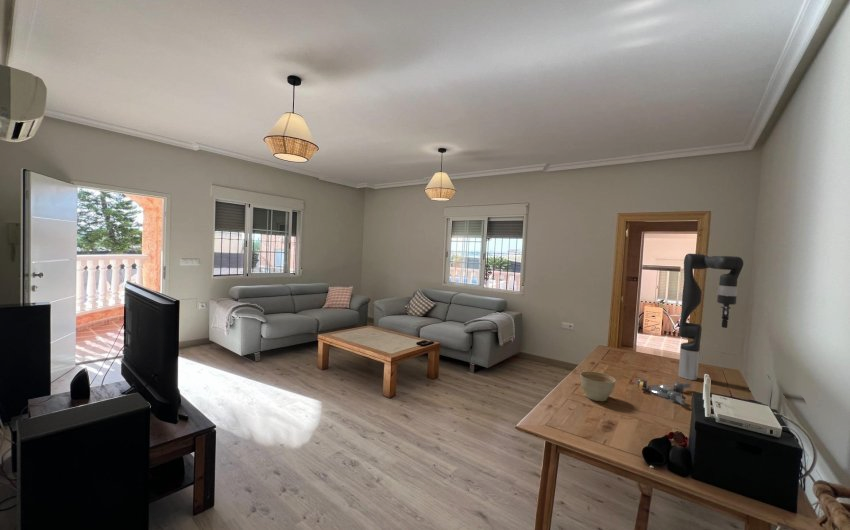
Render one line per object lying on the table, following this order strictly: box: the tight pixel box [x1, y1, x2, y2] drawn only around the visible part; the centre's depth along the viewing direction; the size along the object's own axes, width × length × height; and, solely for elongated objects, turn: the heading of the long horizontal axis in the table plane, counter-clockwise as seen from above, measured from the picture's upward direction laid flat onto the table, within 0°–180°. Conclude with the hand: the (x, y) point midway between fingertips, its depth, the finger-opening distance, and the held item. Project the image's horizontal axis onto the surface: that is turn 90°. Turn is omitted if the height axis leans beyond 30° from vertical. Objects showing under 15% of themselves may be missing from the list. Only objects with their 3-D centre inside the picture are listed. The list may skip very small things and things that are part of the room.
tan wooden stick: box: [636, 378, 648, 390], centre depth 194 cm, size 10×4×3 cm, turn 144°
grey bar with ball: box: [673, 381, 691, 392], centre depth 194 cm, size 10×4×3 cm, turn 110°
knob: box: [669, 391, 686, 406], centre depth 177 cm, size 10×4×3 cm, turn 170°
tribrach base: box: [641, 383, 683, 404], centre depth 191 cm, size 21×19×4 cm
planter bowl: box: [579, 370, 617, 402], centre depth 180 cm, size 16×16×11 cm
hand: (724, 327), depth 187 cm, fingers closed
